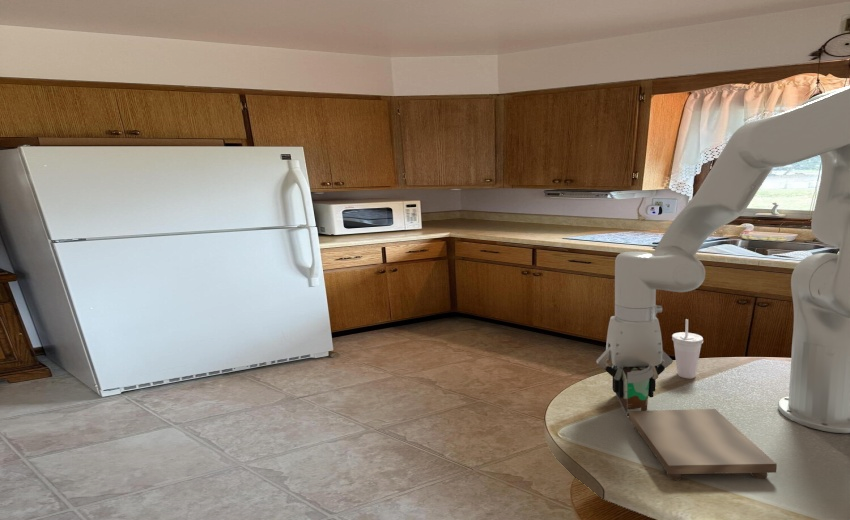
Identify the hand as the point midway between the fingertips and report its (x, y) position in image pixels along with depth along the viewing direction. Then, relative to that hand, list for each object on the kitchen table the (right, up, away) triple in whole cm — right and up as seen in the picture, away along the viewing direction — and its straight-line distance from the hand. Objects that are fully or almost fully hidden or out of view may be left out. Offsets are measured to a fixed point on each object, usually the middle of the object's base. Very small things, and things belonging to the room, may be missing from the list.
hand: (633, 393), depth 94 cm
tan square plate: (+3, -5, -16) cm, 17 cm away
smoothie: (+19, +1, +13) cm, 22 cm away
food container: (+1, -3, 0) cm, 3 cm away
